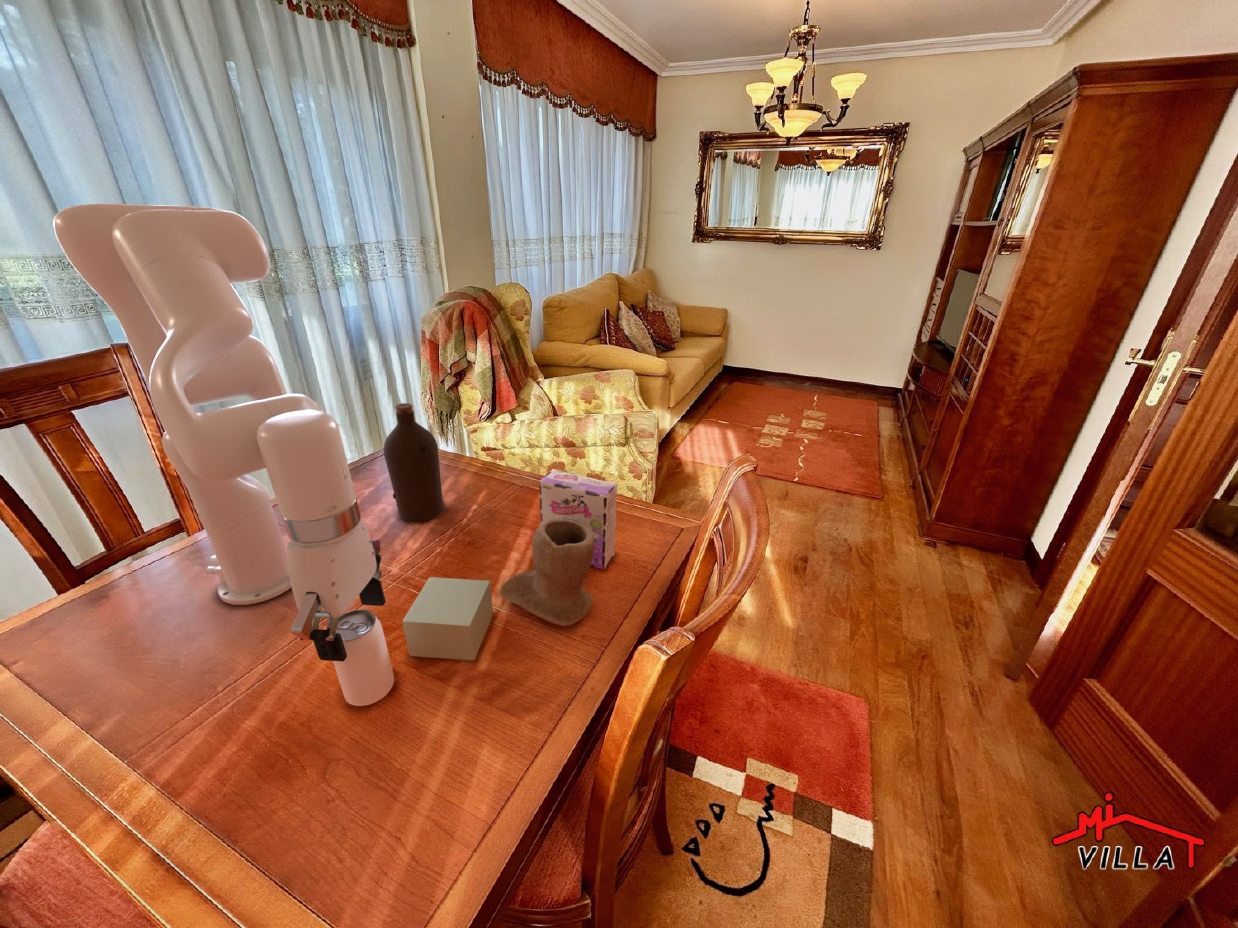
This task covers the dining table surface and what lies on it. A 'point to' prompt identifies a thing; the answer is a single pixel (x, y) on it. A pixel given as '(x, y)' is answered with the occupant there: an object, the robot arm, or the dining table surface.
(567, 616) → the stone cup
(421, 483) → the olive oil
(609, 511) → the candy box
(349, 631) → the can
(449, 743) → the dining table surface
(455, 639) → the block
